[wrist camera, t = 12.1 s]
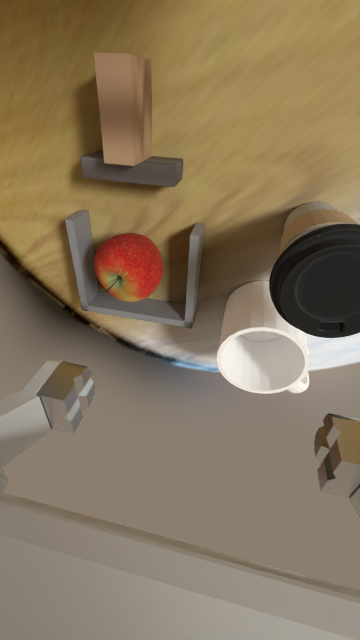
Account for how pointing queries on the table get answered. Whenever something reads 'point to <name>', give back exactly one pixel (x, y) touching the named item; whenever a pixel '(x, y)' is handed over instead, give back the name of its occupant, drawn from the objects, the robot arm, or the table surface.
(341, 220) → the coffee cup
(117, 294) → the apple
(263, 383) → the mug
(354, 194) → the table surface
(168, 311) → the tray
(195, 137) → the table surface
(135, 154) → the tan grey t-shaped block
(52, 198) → the table surface
